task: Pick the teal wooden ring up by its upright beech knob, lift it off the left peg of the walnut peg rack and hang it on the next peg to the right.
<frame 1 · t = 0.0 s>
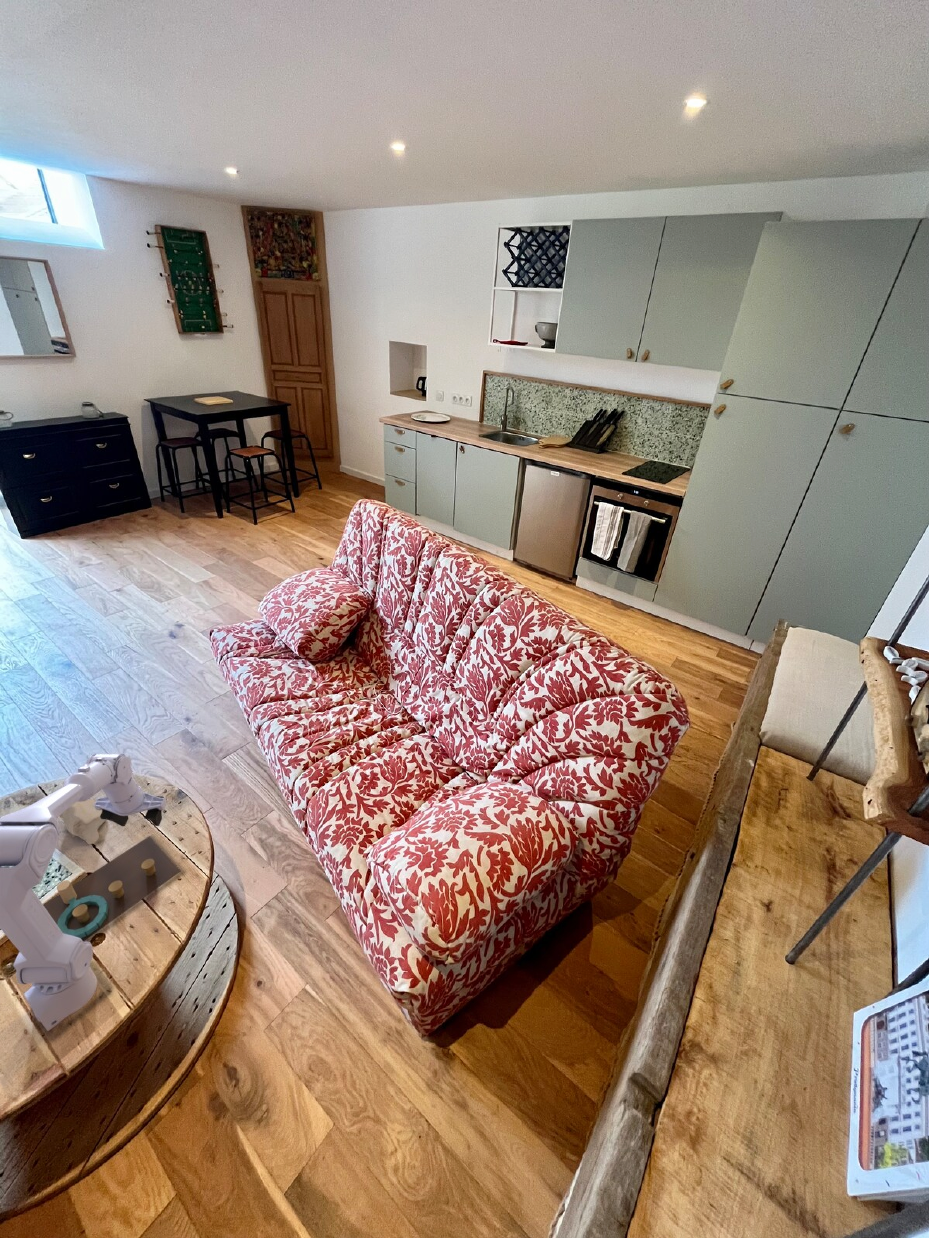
hand: (142, 822, 120), 11 cm above the table, tool pointing down, fingers open, 7 cm apart
decorative stone: (89, 823, 130), on the table
rack: (115, 890, 116), on the table
ring: (84, 918, 109), point 1 cm above the table, touching rack
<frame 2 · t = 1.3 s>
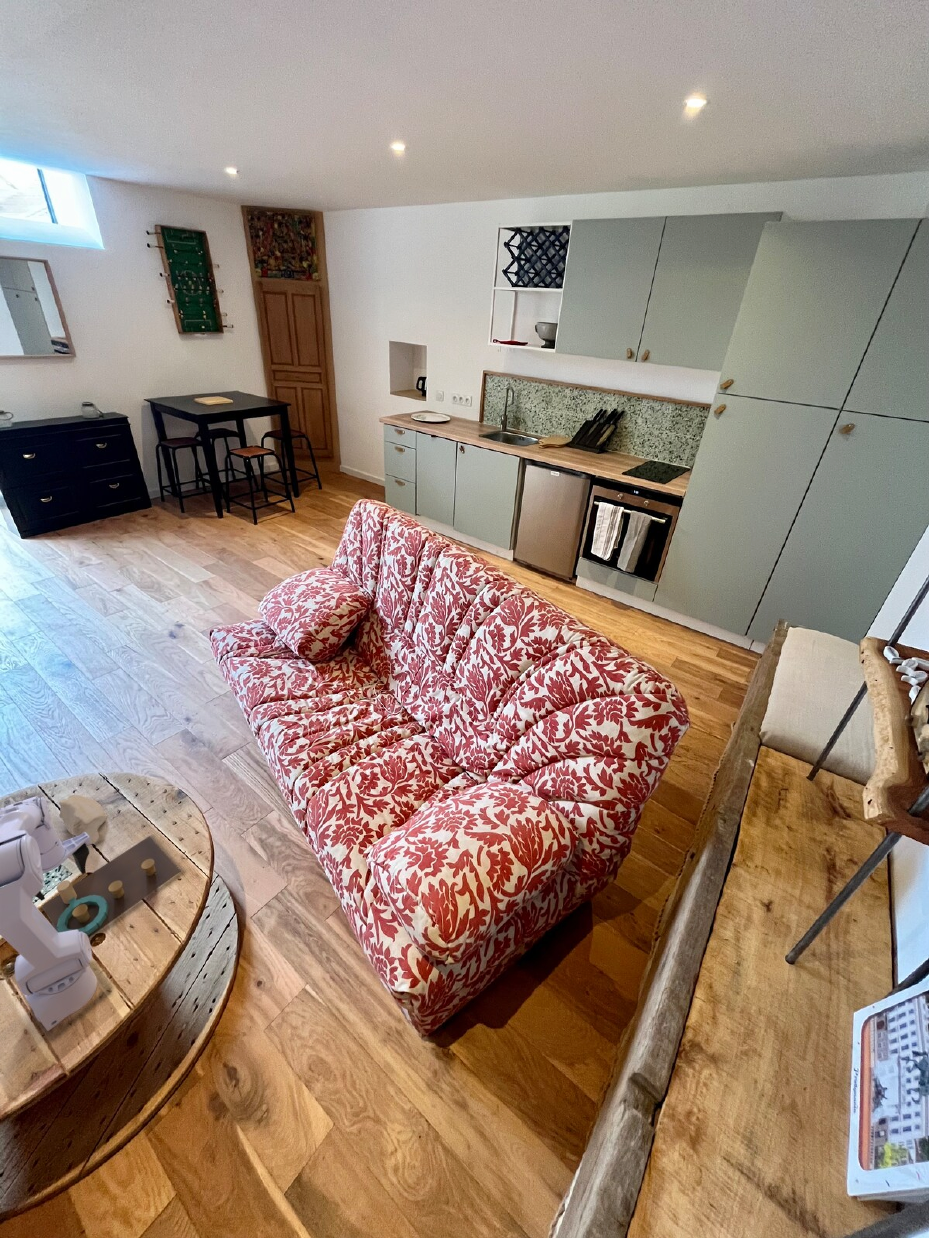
hand: (62, 883, 110), 7 cm above the table, tool pointing down, fingers open, 7 cm apart
nothing on the table moved.
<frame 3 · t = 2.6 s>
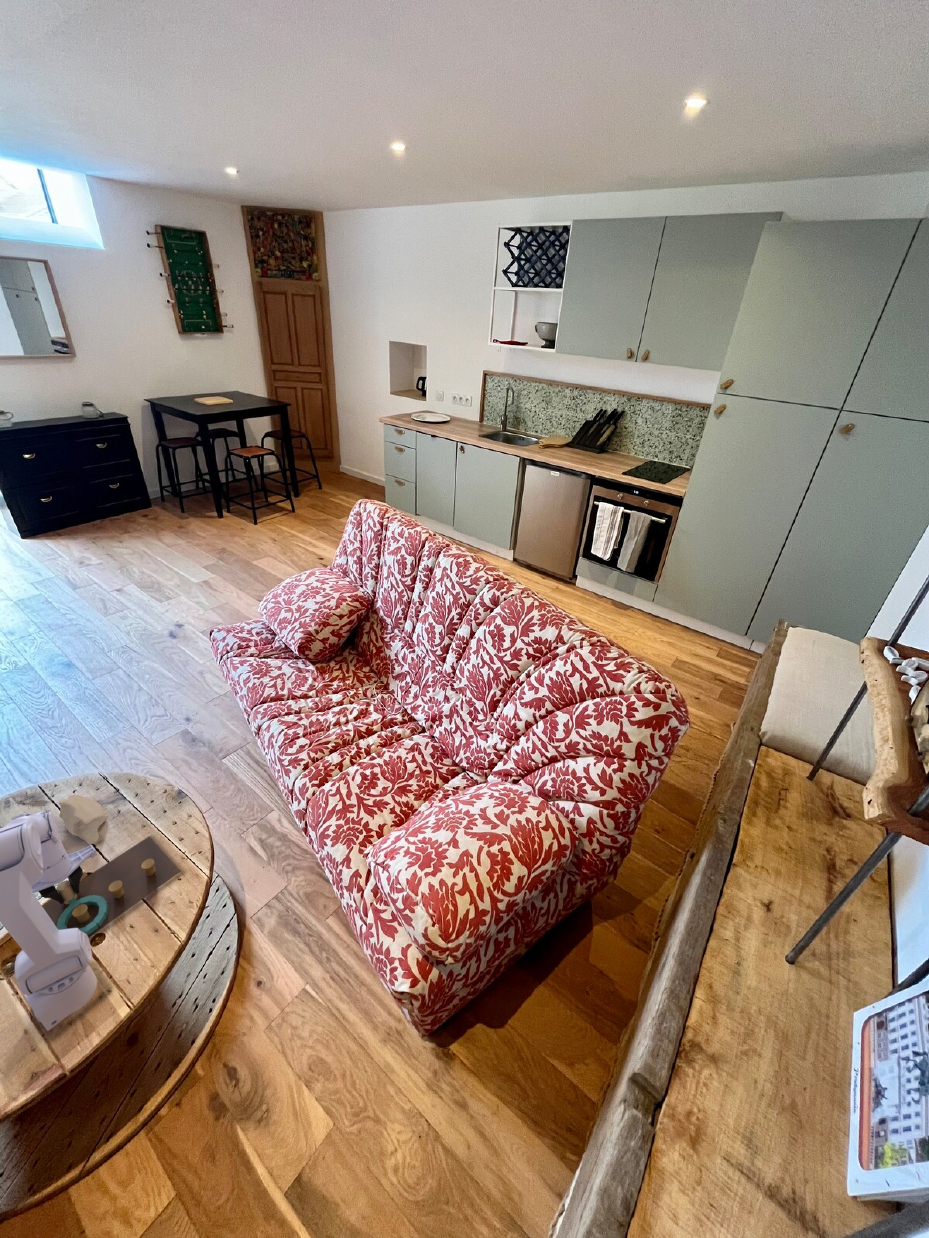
hand: (68, 895, 112), 2 cm above the table, tool pointing down, fingers closed on ring, 2 cm apart
ring: (84, 918, 109), point 1 cm above the table, touching gripper, rack
everything else where it was.
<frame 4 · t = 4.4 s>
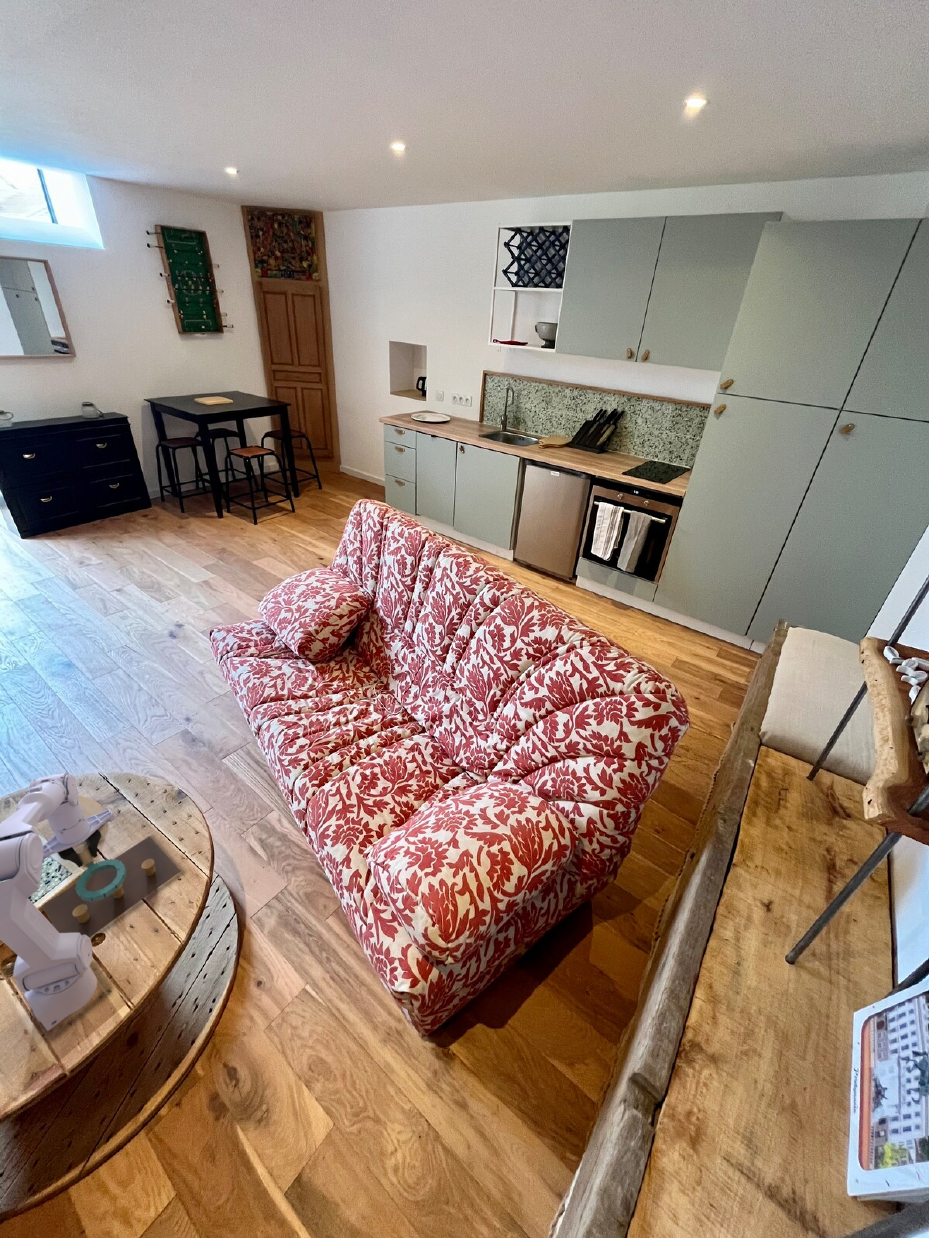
hand: (86, 859, 113), 9 cm above the table, tool pointing down, fingers closed on ring, 2 cm apart
ring: (102, 881, 110), point 8 cm above the table, touching gripper
everything else where it was.
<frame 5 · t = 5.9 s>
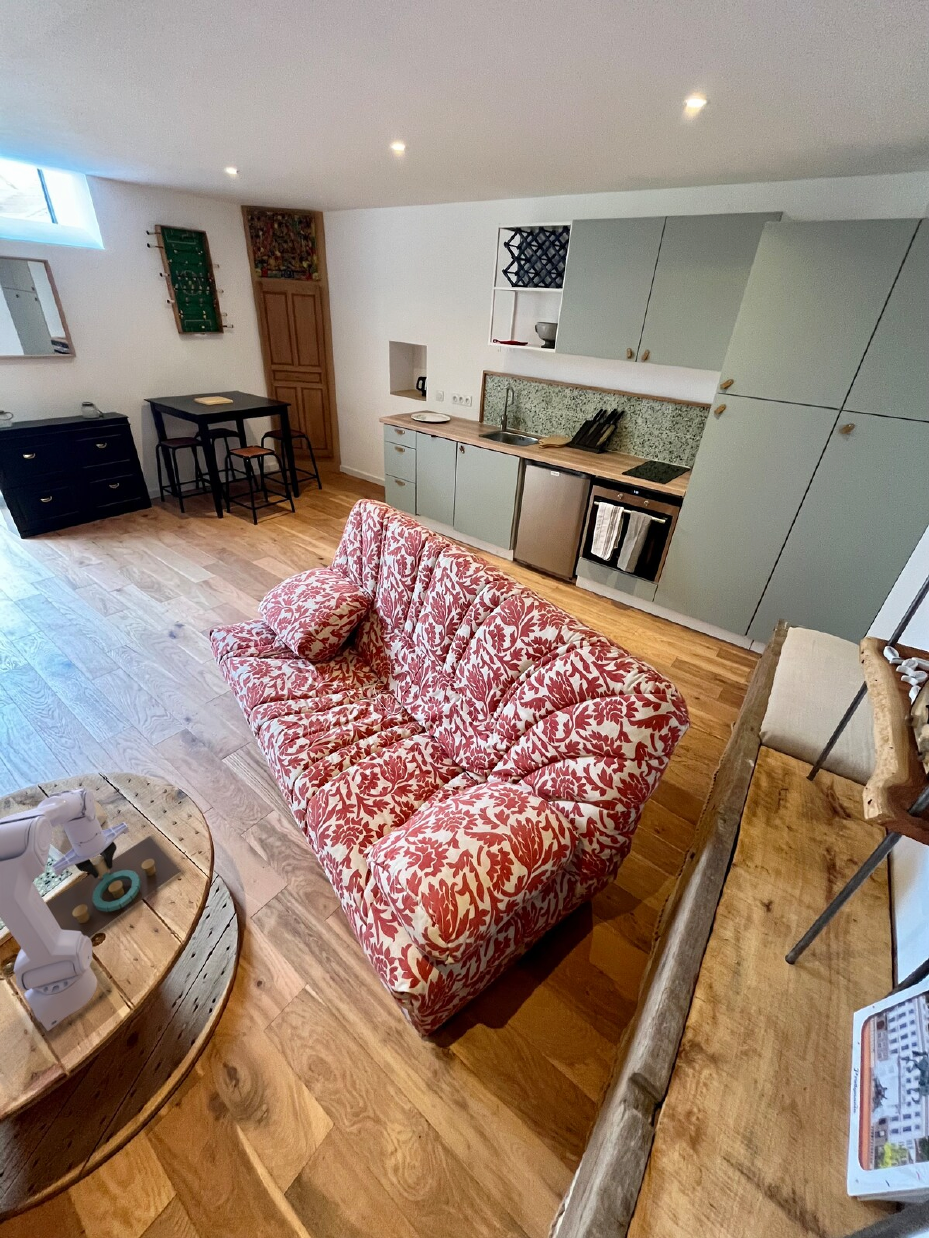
hand: (102, 870, 117), 3 cm above the table, tool pointing down, fingers closed on ring, 2 cm apart
ring: (117, 891, 114), point 2 cm above the table, touching gripper
everything else where it was.
when the fingers open (2 cm above the table, at t = 6.4 s): ring stays where it is, resting on rack.
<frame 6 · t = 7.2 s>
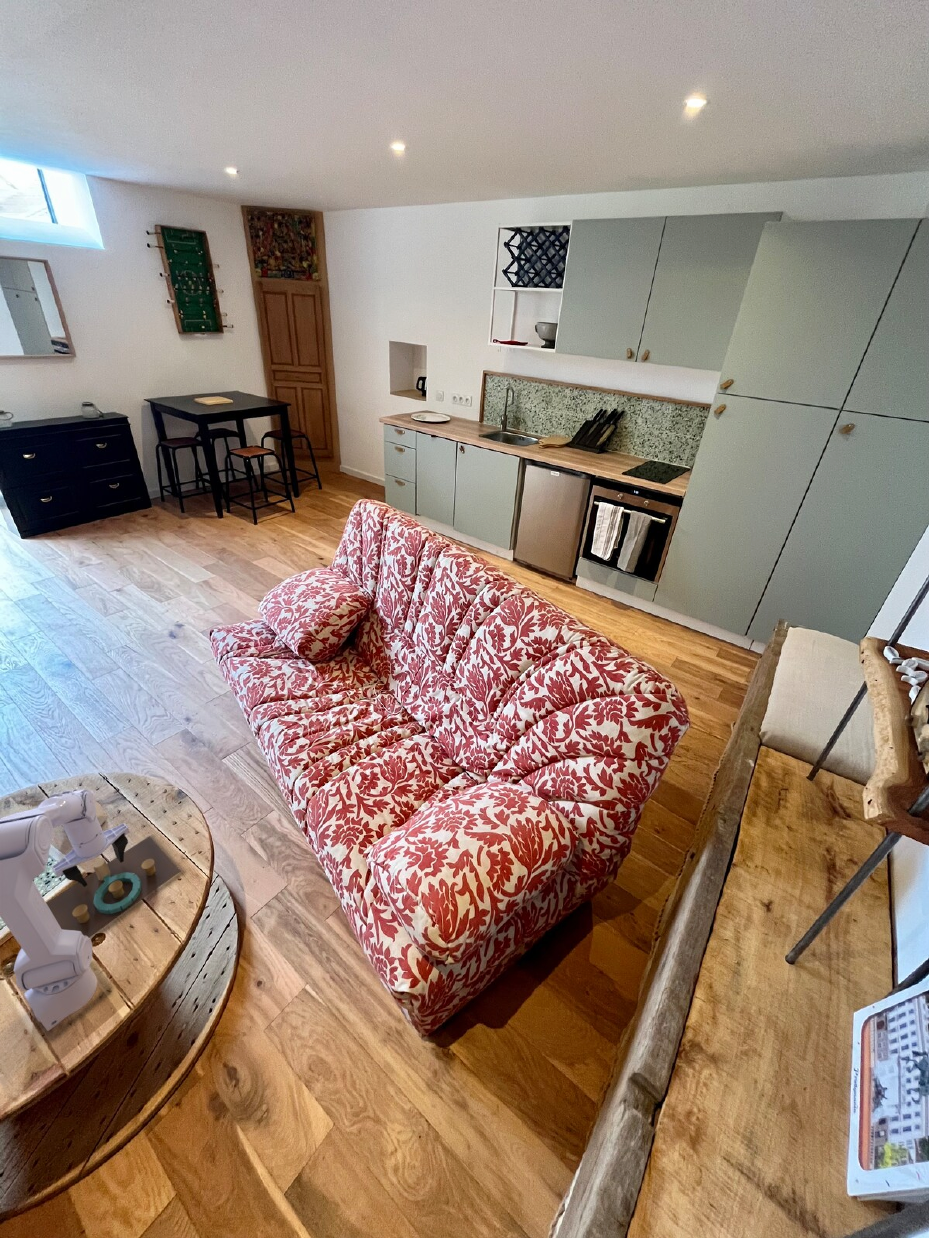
hand: (102, 871, 117), 3 cm above the table, tool pointing down, fingers open, 7 cm apart
ring: (118, 894, 114), point 1 cm above the table, touching rack
everything else where it was.
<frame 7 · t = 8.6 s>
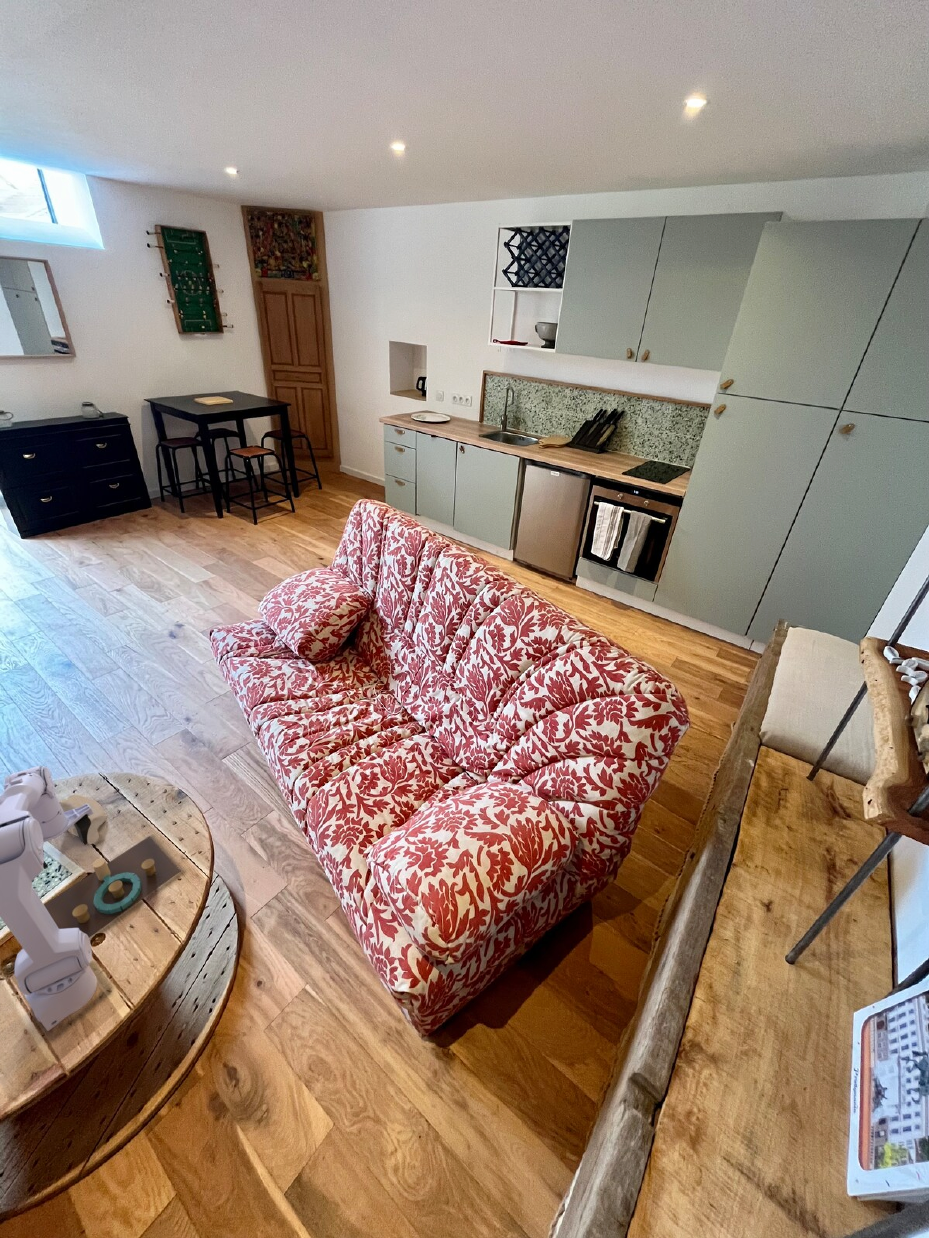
hand: (64, 853, 113), 9 cm above the table, tool pointing down, fingers open, 7 cm apart
nothing on the table moved.
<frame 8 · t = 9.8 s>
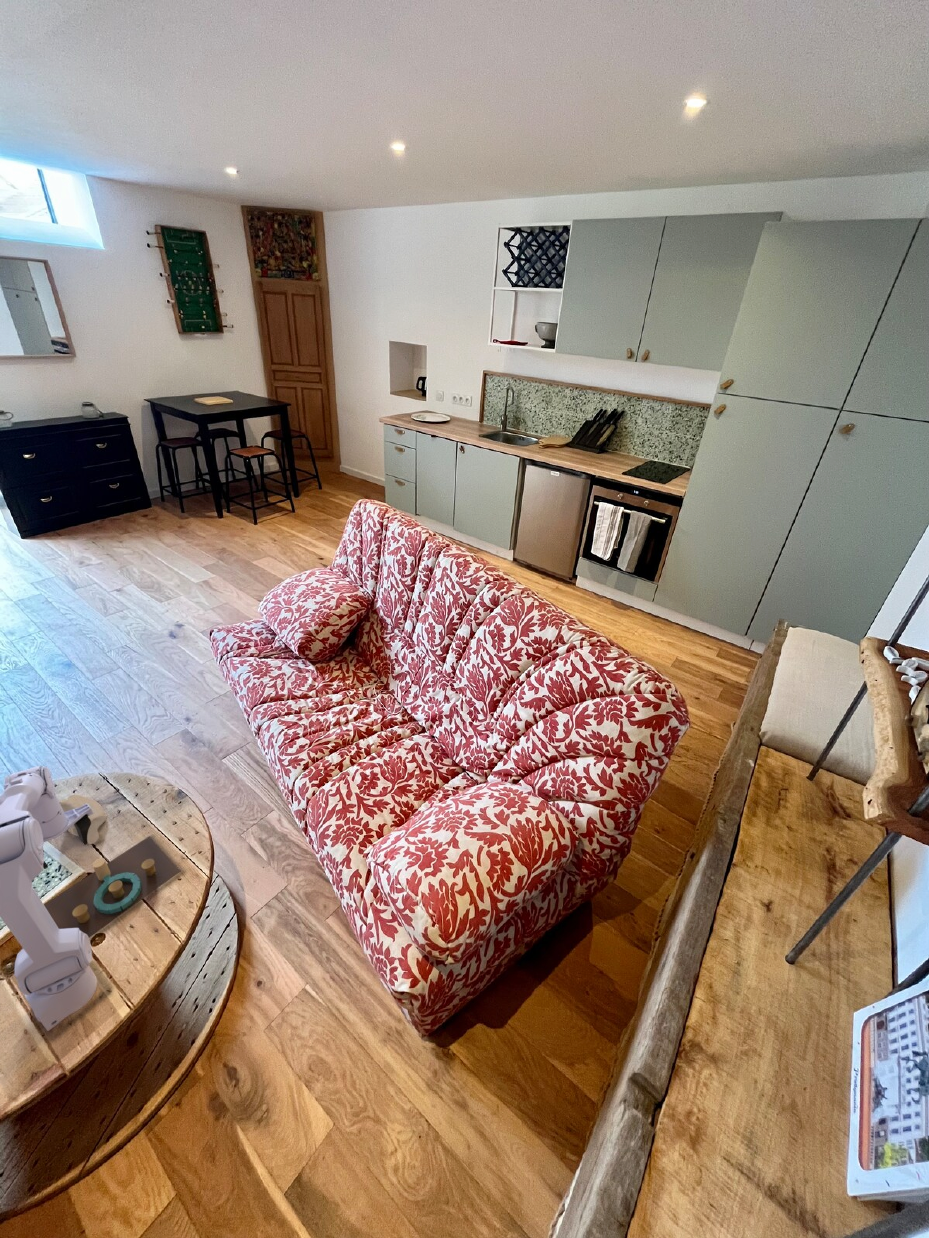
hand: (64, 853, 113), 9 cm above the table, tool pointing down, fingers open, 7 cm apart
nothing on the table moved.
at the end: ring 0.0 cm from the target spot on the rack, point 1.0 cm above the rack's base; ring tilted 0°; the gripper is holding nothing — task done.
